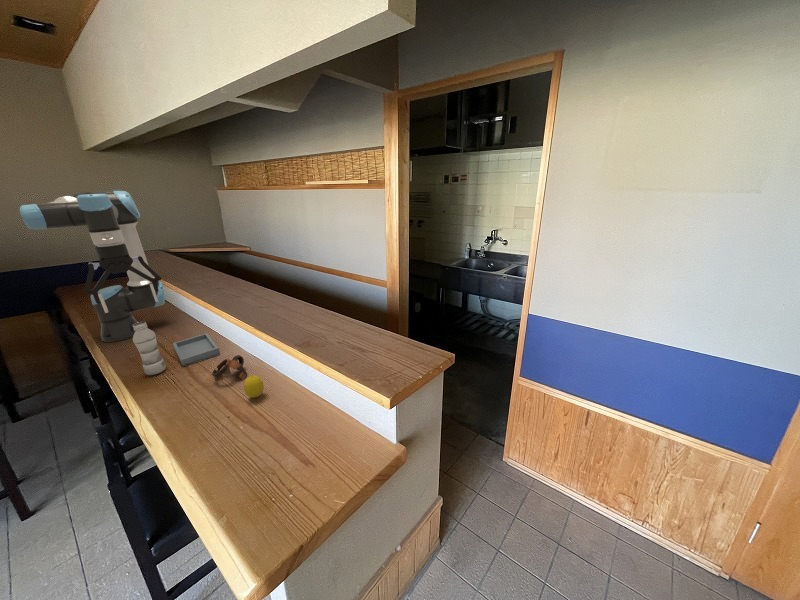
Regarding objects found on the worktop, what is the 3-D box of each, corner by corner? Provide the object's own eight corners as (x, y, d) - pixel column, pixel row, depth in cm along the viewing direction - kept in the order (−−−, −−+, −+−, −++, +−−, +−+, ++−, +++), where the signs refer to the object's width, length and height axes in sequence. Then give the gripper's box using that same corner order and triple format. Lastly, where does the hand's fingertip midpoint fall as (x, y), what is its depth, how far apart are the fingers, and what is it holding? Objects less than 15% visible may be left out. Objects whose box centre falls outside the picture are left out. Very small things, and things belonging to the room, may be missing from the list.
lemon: (247, 394, 103) (241, 373, 100) (265, 390, 105) (260, 369, 102) (246, 404, 98) (241, 383, 95) (266, 399, 100) (260, 378, 97)
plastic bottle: (141, 376, 117) (122, 326, 110) (160, 366, 123) (143, 319, 116) (153, 378, 115) (134, 328, 108) (171, 368, 121) (155, 320, 114)
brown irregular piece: (241, 386, 109) (222, 371, 105) (223, 394, 112) (204, 380, 108) (256, 360, 118) (239, 346, 115) (238, 368, 122) (221, 355, 118)
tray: (174, 349, 136) (172, 343, 135) (208, 338, 144) (207, 332, 143) (183, 367, 122) (180, 360, 121) (220, 354, 130) (218, 347, 128)
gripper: (54, 252, 92) (82, 319, 99) (158, 239, 107) (176, 298, 115) (56, 249, 97) (84, 313, 105) (155, 237, 113) (173, 294, 120)
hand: (132, 306), depth 110 cm, fingers open, 13 cm apart
